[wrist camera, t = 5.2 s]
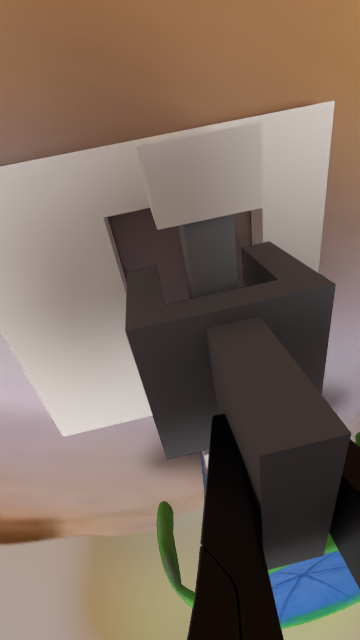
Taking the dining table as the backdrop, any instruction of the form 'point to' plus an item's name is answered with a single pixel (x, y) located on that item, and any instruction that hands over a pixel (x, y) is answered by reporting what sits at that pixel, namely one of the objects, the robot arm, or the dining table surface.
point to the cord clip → (250, 388)
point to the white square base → (168, 211)
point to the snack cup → (279, 576)
